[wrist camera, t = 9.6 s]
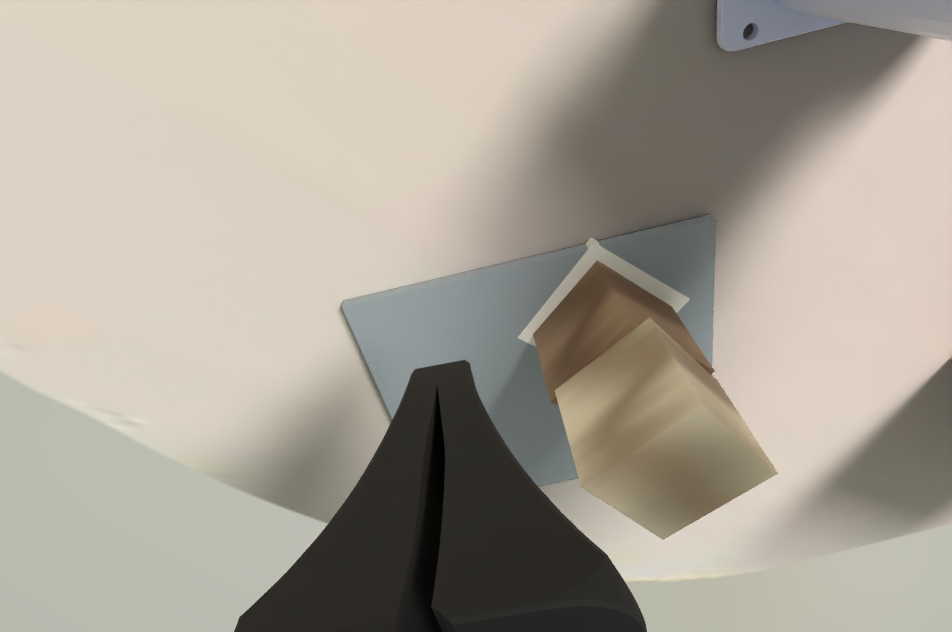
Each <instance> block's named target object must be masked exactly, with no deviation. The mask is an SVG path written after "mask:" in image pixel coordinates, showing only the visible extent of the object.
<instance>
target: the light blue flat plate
mask: <svg viewBox="0 0 952 632" xmlns="http://www.w3.org/2000/svg"><path fill="white" fill-rule="evenodd" d="M714 258H715V218H713V217H712V216H711V215H705V216H701V217H697V218H693V219H689V220H684V221H680V222H676V223H672V224H667V225H663V226H659V227H655V228H650V229H646V230H642V231H638V232H633V233H629V234H625V235H621V236H616V237H612V238H608V239H604V240H599V241H597V240H595V239H594V238H592V237H590V238H589V240H588V241H587V242H586V244H582V245H578V246H574V247H570V248H565V249H561V250H557V251H553V252H548V253H544V254H540V255H536V256H531V257H527V258H523V259H519V260H514V261H510V262H506V263H502V264H497V265H493V266H489V267H485V268H480V269H476V270H472V271H468V272H463V273H459V274H455V275H451V276H446V277H442V278H438V279H434V280H429V281H425V282H421V283H417V284H413V285H408V286H404V287H400V288H396V289H391V290H387V291H383V292H379V293H374V294H370V295H366V296H362V297H357V298H353V299H349V300H345V301H343V303H342V309H343V312H344V314H345V316H346V318H347V320H348V323H349V325H350V327H351V329H352V332H353V334H354V336H355V338H356V340H357V343H358V345H359V347H360V349H361V352H362V354H363V356H364V358H365V360H366V363H367V365H368V367H369V369H370V372H371V374H372V376H373V378H374V380H375V383H376V385H377V387H378V389H379V392H380V394H381V396H382V398H383V400H384V403H385V405H386V407H387V409H388V412H389V414H390V416H391V418H392V420H393V417H394V415H395V413H396V411H397V409H398V407H399V404H400V402H401V400H402V397H403V395H404V392H405V390H406V387H407V385H408V382H409V379H410V376H411V374H412V372H413V371H414V370H415V369H418V368H423V367H429V366H434V365H440V364H445V363H450V362H455V361H461V360H466V361H467V362H469V363H470V366H471V370H472V374H473V378H474V382H475V386H476V390H477V392H478V395H479V397H480V399H481V401H482V404H483V405H484V407H485V409H486V411H487V413H488V415H489V417H490V419H491V421H492V422H493V424H494V426H495V428H496V429H497V431H498V433H499V434H500V436H501V437H502V439H503V440H504V442H505V444H506V445H507V447H508V448H509V450H510V451H511V452H512V454H513V455H514V457H515V458H516V459H517V461H518V462H519V463H520V465H521V466H522V467H523V469H524V470H525V471H526V473H527V474H528V475H529V476H530V478H531V479H532V480H533V481H534V483H535V484H536V485H537V486H543V485H548V484H553V483H558V482H562V481H567V480H572V479H577V478H579V477H578V474H577V470H576V466H575V463H574V459H573V456H572V452H571V448H570V445H569V441H568V437H567V434H566V430H565V426H564V423H563V419H562V416H561V412H560V408H559V406H557V405H555V404H553V403H551V402H550V398H549V394H548V391H547V387H546V383H545V379H544V375H543V371H542V367H541V363H540V360H539V356H538V352H537V348H536V344H535V340H534V336H533V334H534V332H535V331H536V330H537V329H538V328H539V327H540V325H541V324H542V323H543V322H544V321H545V320H546V319H547V317H548V316H549V315H550V314H551V313H552V312H553V310H554V309H555V308H556V307H557V306H558V305H559V304H560V302H561V301H562V300H563V299H564V298H565V297H566V295H567V294H568V293H569V292H570V291H571V290H572V289H573V287H574V286H575V285H576V284H577V283H578V282H579V280H580V279H581V278H582V277H583V276H584V275H585V274H586V272H587V271H588V270H589V269H590V268H591V267H592V265H593V264H594V263H595V262H596V261H597V260H598V261H599V262H601V263H603V264H604V265H606V266H607V267H609V268H611V269H612V270H614V271H615V272H617V273H619V274H620V275H622V276H623V277H625V278H627V279H628V280H630V281H632V282H633V283H635V284H636V285H638V286H640V287H641V288H643V289H644V290H646V291H648V292H649V293H651V294H652V295H654V296H656V297H657V298H659V299H661V300H662V301H664V302H665V303H667V304H669V305H670V306H672V307H673V309H674V310H675V312H676V313H677V315H678V316H679V318H680V319H681V321H682V322H683V324H684V325H685V327H686V328H687V330H688V331H689V333H690V335H691V336H692V338H693V339H694V341H695V342H696V344H697V345H698V347H699V348H700V350H701V351H702V353H703V354H704V356H705V357H706V359H707V360H708V362H709V363H710V365H711V366H712V342H713V300H714ZM711 375H712V374H711Z"/></svg>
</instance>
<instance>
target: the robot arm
mask: <svg viewBox="0 0 952 632" xmlns="http://www.w3.org/2000/svg"><path fill="white" fill-rule="evenodd" d="M847 22H850V23H856V24H861V25H867V26H872V27H877V28H883V29H888V30H894V31H899V32H905V33H910V34H915V35H921V36H926V37H932V38H937V39H942V40H948V41H952V0H717V44H718V45H719V47H720V48H721V49H724V50H726V51H729V52H732V51H738V50H742V49H746V48H750V47H754V46H758V45H762V44H765V43H769V42H773V41H777V40H781V39H785V38H789V37H793V36H797V35H801V34H804V33H808V32H812V31H816V30H820V29H824V28H828V27H832V26H836V25H840V24H843V23H847ZM751 23H752V25H753V31H752V33H751V35H750V36H749V37H747V38H746V39H744V37H743V32H744V29H745V28H746V26H747V25H749V24H751ZM234 632H647V630H646V624H645V621H644V618H643V615H642V613H641V611H640V608H639V606H638V604H637V602H636V600H635V598H634V597H633V595H632V593H631V591H630V589H629V588H628V586H627V585H626V583H625V581H624V580H623V578H622V577H621V575H620V574H619V572H618V571H617V569H616V568H615V566H614V565H613V563H612V562H611V560H610V559H609V557H608V556H607V554H606V553H605V552H603V551H602V550H601V549H600V548H599V547H598V546H596V545H595V544H594V543H593V542H592V541H591V540H590V539H589V538H587V537H586V536H585V535H584V534H583V533H582V532H581V531H580V530H579V529H578V528H577V527H576V526H575V525H574V524H573V523H572V522H571V521H570V520H569V519H568V518H566V517H565V516H564V515H563V514H562V513H561V512H560V510H559V509H558V508H557V507H556V506H555V505H554V504H553V503H552V502H551V501H550V499H549V498H548V497H547V496H546V495H545V494H544V493H543V492H542V491H541V490H540V488H539V487H538V486H537V485H536V484H535V483H534V481H533V480H532V479H531V478H530V476H529V475H528V474H527V473H526V471H525V470H524V469H523V467H522V466H521V465H520V463H519V462H518V461H517V459H516V458H515V457H514V455H513V454H512V452H511V451H510V450H509V448H508V447H507V445H506V444H505V442H504V440H503V439H502V437H501V436H500V434H499V433H498V431H497V429H496V428H495V426H494V424H493V422H492V421H491V419H490V417H489V415H488V413H487V411H486V409H485V407H484V405H483V404H482V401H481V399H480V397H479V395H478V392H477V390H476V386H475V382H474V378H473V374H472V370H471V366H470V363H469V362H467V361H466V360H461V361H455V362H450V363H445V364H440V365H434V366H429V367H423V368H418V369H415V370H414V371H413V372H412V374H411V376H410V379H409V382H408V385H407V387H406V390H405V392H404V395H403V397H402V400H401V402H400V404H399V407H398V409H397V411H396V413H395V415H394V417H393V420H392V422H391V424H390V426H389V428H388V430H387V432H386V434H385V436H384V438H383V440H382V442H381V444H380V445H379V447H378V449H377V451H376V453H375V454H374V456H373V458H372V460H371V462H370V463H369V465H368V467H367V469H366V470H365V472H364V473H363V475H362V477H361V478H360V480H359V481H358V483H357V485H356V486H355V488H354V489H353V491H352V492H351V493H350V495H349V496H348V498H347V499H346V501H345V502H344V504H343V505H342V506H341V508H340V509H339V510H338V512H337V513H336V514H335V516H334V517H333V518H332V520H331V521H330V522H329V524H328V525H327V526H326V528H325V529H324V530H323V531H322V532H321V534H320V535H319V536H318V537H317V539H316V540H315V541H314V542H313V543H312V544H311V546H310V547H309V548H308V549H307V550H306V551H305V552H304V553H303V554H302V556H301V557H300V558H299V559H298V560H297V561H296V562H295V563H294V565H293V566H292V567H291V568H290V569H289V570H288V571H287V573H285V574H284V575H283V576H282V577H281V578H280V579H279V580H278V581H277V582H276V583H275V584H274V585H273V586H272V587H271V588H270V589H269V590H268V591H267V592H266V593H265V594H264V595H263V596H262V597H261V598H260V599H259V600H258V601H257V602H256V603H255V604H253V605H252V606H251V607H250V608H249V610H247V611H246V612H245V613H244V614H243V615H242V616H240V618H239V620H238V623H237V626H236V629H235V631H234Z"/></svg>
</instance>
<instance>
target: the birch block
mask: <svg viewBox="0 0 952 632" xmlns="http://www.w3.org/2000/svg"><path fill="white" fill-rule="evenodd" d="M555 394H556V397H557V401H558V405H559V408H560V412H561V416H562V419H563V423H564V426H565V430H566V434H567V437H568V441H569V445H570V448H571V452H572V456H573V459H574V463H575V466H576V470H577V474H578V477H579V481H580V485H581V487H582V488H584V489H585V490H587V491H588V492H590V493H591V494H593V495H595V496H596V497H598V498H599V499H601V500H602V501H604V502H605V503H607V504H608V505H610V506H612V507H613V508H615V509H616V510H618V511H619V512H621V513H622V514H624V515H626V516H627V517H629V518H630V519H632V520H633V521H635V522H636V523H638V524H639V525H641V526H643V527H644V528H646V529H647V530H649V531H650V532H652V533H653V534H655V535H656V536H658V537H660V538H661V539H665V538H667V537H669V536H670V535H672V534H674V533H675V532H677V531H679V530H681V529H682V528H684V527H686V526H688V525H689V524H691V523H693V522H695V521H696V520H698V519H700V518H701V517H703V516H705V515H707V514H708V513H710V512H712V511H714V510H715V509H717V508H719V507H721V506H722V505H724V504H726V503H727V502H729V501H731V500H733V499H734V498H736V497H738V496H740V495H741V494H743V493H745V492H747V491H748V490H750V489H752V488H753V487H755V486H757V485H759V484H760V483H762V482H764V481H766V480H767V479H769V478H771V477H773V476H774V475H776V474H778V473H777V471H776V470H775V468H774V466H773V465H772V463H771V462H770V460H769V459H768V457H767V456H766V454H765V453H764V451H763V450H762V448H761V447H760V445H759V444H758V442H757V440H756V439H755V437H754V436H753V434H752V433H751V431H750V430H749V428H748V427H747V425H746V424H745V422H744V421H743V419H742V418H741V416H740V415H739V413H738V411H737V410H736V408H735V407H734V405H733V404H732V402H731V401H730V399H729V398H728V396H727V395H726V393H725V392H724V390H723V389H722V387H721V386H720V384H719V382H718V381H717V380H716V379H715V378H714V377H713V376H712V375H711V374H710V373H709V372H708V371H706V370H705V369H704V368H703V367H702V366H701V365H700V364H699V363H698V362H697V361H696V360H695V359H694V358H693V357H691V356H690V355H689V354H688V353H687V352H686V351H685V350H684V349H683V348H682V347H681V346H680V345H679V344H678V343H676V342H675V341H674V340H673V339H672V338H671V337H670V336H669V335H668V334H667V333H666V332H665V331H664V330H663V329H662V328H660V327H659V326H658V325H657V324H656V323H655V322H654V321H653V320H652V319H651V318H650V317H649V318H648V319H647V320H646V321H644V322H643V323H642V324H640V325H639V326H638V327H636V328H635V329H634V330H633V331H631V332H630V333H629V334H627V335H626V336H625V337H623V338H622V339H621V340H620V341H618V342H617V343H616V344H614V345H613V346H612V347H610V348H609V349H608V350H607V351H605V352H604V353H603V354H601V355H600V356H599V357H597V358H596V359H595V360H594V361H592V362H591V363H590V364H588V365H587V366H586V367H584V368H583V369H582V370H581V371H579V372H578V373H577V374H575V375H574V376H573V377H571V378H570V379H569V380H568V381H566V382H565V383H564V384H562V385H561V386H560V387H558V388H557V389H556V390H555Z"/></svg>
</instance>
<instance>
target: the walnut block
mask: <svg viewBox="0 0 952 632" xmlns="http://www.w3.org/2000/svg"><path fill="white" fill-rule="evenodd" d="M649 317H650V318H651V319H652V320H653V321H654V322H655V323H656V324H657V325H658V326H659V327H660V328H662V329H663V330H664V331H665V332H666V333H667V334H668V335H669V336H670V337H671V338H672V339H673V340H674V341H675V342H676V343H678V344H679V345H680V346H681V347H682V348H683V349H684V350H685V351H686V352H687V353H688V354H689V355H690V356H691V357H693V358H694V359H695V360H696V361H697V362H698V363H699V364H700V365H701V366H702V367H703V368H704V369H705V370H706V371H708V372H709V373H710V374H712V373H713V372H714V369H713V368H712V366H711V365H710V363H709V362H708V360H707V359H706V357H705V356H704V354H703V353H702V351H701V350H700V348H699V347H698V345H697V344H696V342H695V341H694V339H693V338H692V336H691V335H690V333H689V331H688V330H687V328H686V327H685V325H684V324H683V322H682V321H681V319H680V318H679V316H678V315H677V313H676V312H675V310H674V309H673V307H672V306H670V305H669V304H667V303H665V302H664V301H662V300H661V299H659V298H657V297H656V296H654V295H652V294H651V293H649V292H648V291H646V290H644V289H643V288H641V287H640V286H638V285H636V284H635V283H633V282H632V281H630V280H628V279H627V278H625V277H623V276H622V275H620V274H619V273H617V272H615V271H614V270H612V269H611V268H609V267H607V266H606V265H604V264H603V263H601V262H599V261H598V260H597V261H596V262H595V263H594V264H593V265H592V267H591V268H590V269H589V270H588V271H587V272H586V274H585V275H584V276H583V277H582V278H581V279H580V280H579V282H578V283H577V284H576V285H575V286H574V287H573V289H572V290H571V291H570V292H569V293H568V294H567V295H566V297H565V298H564V299H563V300H562V301H561V302H560V304H559V305H558V306H557V307H556V308H555V309H554V310H553V312H552V313H551V314H550V315H549V316H548V317H547V319H546V320H545V321H544V322H543V323H542V324H541V325H540V327H539V328H538V329H537V330H536V331H535V332H534V334H533V336H534V340H535V344H536V348H537V352H538V356H539V360H540V363H541V367H542V371H543V375H544V379H545V383H546V387H547V391H548V394H549V398H550V402H551V403H553V404H555V405H557V406H559V405H558V401H557V397H556V394H555V390H556V389H557V388H558V387H560V386H561V385H562V384H564V383H565V382H566V381H568V380H569V379H570V378H571V377H573V376H574V375H575V374H577V373H578V372H579V371H581V370H582V369H583V368H584V367H586V366H587V365H588V364H590V363H591V362H592V361H594V360H595V359H596V358H597V357H599V356H600V355H601V354H603V353H604V352H605V351H607V350H608V349H609V348H610V347H612V346H613V345H614V344H616V343H617V342H618V341H620V340H621V339H622V338H623V337H625V336H626V335H627V334H629V333H630V332H631V331H633V330H634V329H635V328H636V327H638V326H639V325H640V324H642V323H643V322H644V321H646V320H647V319H648V318H649Z"/></svg>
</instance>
